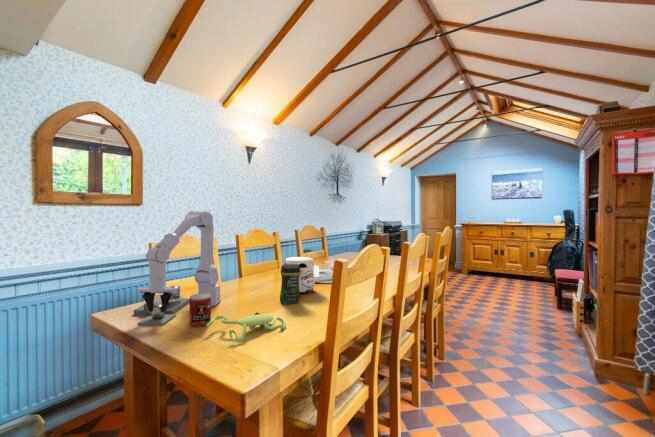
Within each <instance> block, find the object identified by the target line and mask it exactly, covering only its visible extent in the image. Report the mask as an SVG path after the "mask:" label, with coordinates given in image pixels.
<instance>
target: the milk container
mask: <svg viewBox="0 0 655 437" xmlns="http://www.w3.org/2000/svg"><path fill="white" fill-rule="evenodd" d="M285 264H298V265H299V266H300V276H299V293H300V294H307V293H310V292H312V291H314V289H315V284H316V281H315V280H316V279H315V276H314V268H315V266H314V259H313V258H312V257H308V256H292V257H291V256H290V257H287V258H285V263H284V265H285Z"/></svg>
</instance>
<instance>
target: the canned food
mask: <svg viewBox="0 0 655 437" xmlns="http://www.w3.org/2000/svg"><path fill="white" fill-rule="evenodd" d="M189 298H190V303H189V326H191V327H193V328H203V327H206V324H208V323H209V322H210V321H211V320H212V317H211V316H212V315H211V311H212V310H211V308H212V306H211V295H210V294H207V293H199V294H198V293H194V294H192V295H190V296H189Z"/></svg>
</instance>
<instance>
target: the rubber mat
mask: <svg viewBox="0 0 655 437" xmlns="http://www.w3.org/2000/svg"><path fill="white" fill-rule="evenodd" d="M176 317H177V314H176V313H175V314H165V317H164V318H163V319H159V320H153V319H152V314H151V315H147V316H146V317H145V318H143V319H141V320H140V321H138V322H137V326H165V325H167V324H168V323H169V322H170V321H172V320H174V319H175V318H176Z"/></svg>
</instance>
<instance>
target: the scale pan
mask: <svg viewBox="0 0 655 437" xmlns="http://www.w3.org/2000/svg"><path fill="white" fill-rule="evenodd" d="M162 294H163V293H159V294H157V295H156V294H155V296H154V302H161V297H160V295H162ZM182 298H183V294H181V293H180V298H178V299H169V302H168V303H171V302H175V301H178V300H180V299H182Z"/></svg>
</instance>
